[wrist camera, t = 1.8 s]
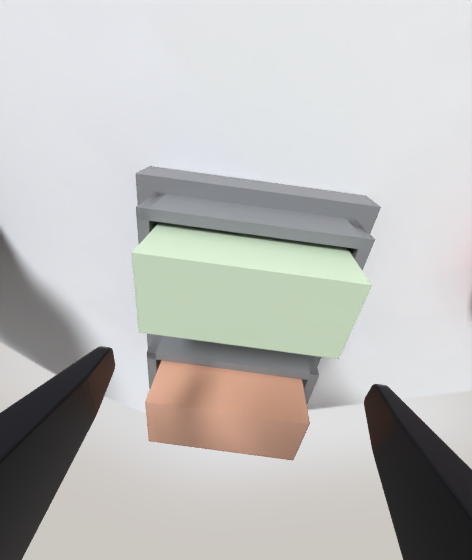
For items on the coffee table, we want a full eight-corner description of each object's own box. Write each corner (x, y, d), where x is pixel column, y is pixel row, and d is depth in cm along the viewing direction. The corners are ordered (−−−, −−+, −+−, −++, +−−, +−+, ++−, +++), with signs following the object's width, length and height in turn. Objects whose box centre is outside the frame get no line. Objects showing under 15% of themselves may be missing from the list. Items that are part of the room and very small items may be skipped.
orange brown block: (165, 390, 22) (148, 441, 19) (164, 352, 20) (145, 401, 16) (287, 407, 22) (293, 460, 19) (300, 370, 20) (309, 423, 16)
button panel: (158, 360, 27) (138, 412, 22) (150, 166, 18) (111, 184, 13) (299, 379, 27) (308, 434, 22) (365, 195, 18) (405, 225, 13)
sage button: (162, 288, 17) (138, 332, 14) (160, 220, 15) (131, 252, 11) (322, 310, 17) (338, 359, 14) (345, 245, 15) (371, 285, 11)
